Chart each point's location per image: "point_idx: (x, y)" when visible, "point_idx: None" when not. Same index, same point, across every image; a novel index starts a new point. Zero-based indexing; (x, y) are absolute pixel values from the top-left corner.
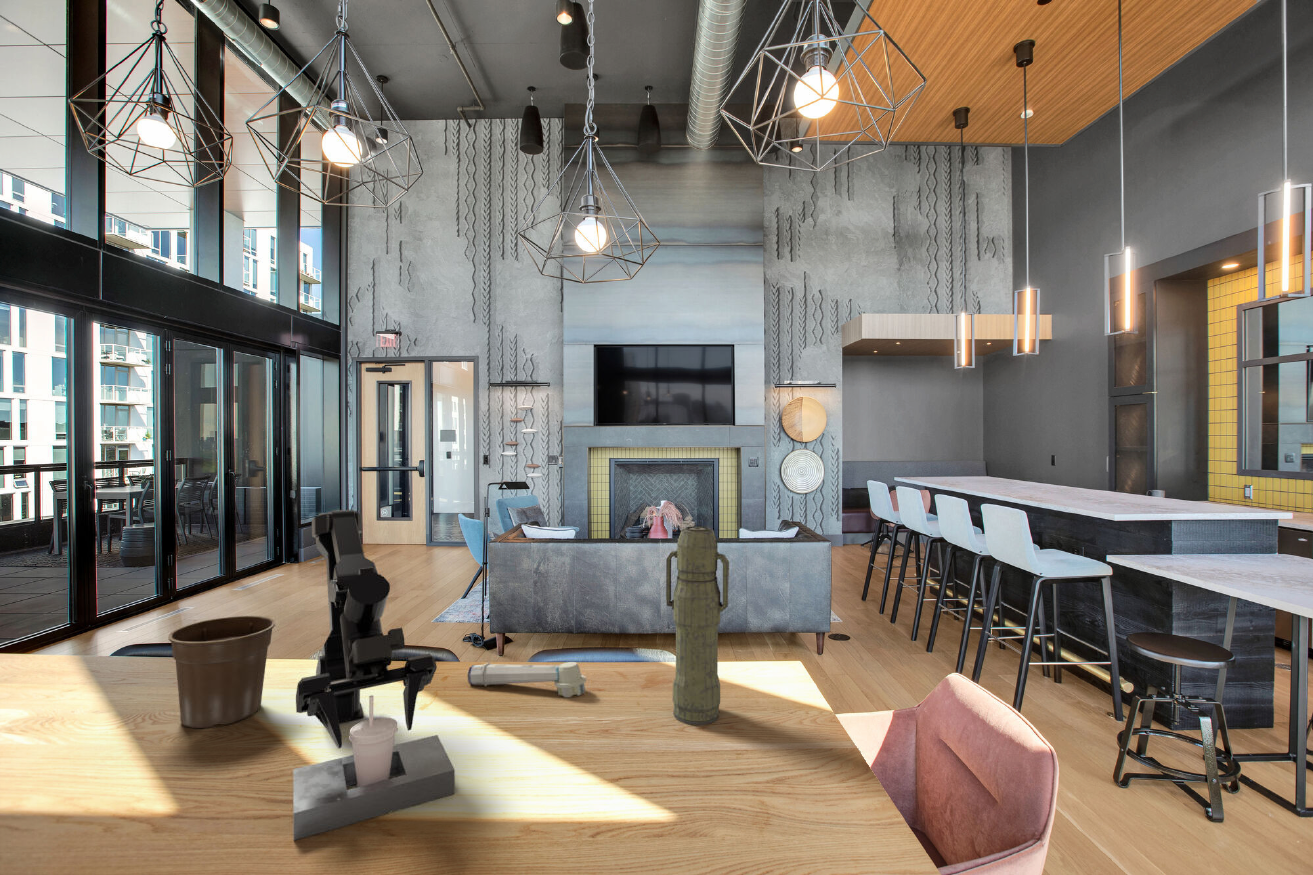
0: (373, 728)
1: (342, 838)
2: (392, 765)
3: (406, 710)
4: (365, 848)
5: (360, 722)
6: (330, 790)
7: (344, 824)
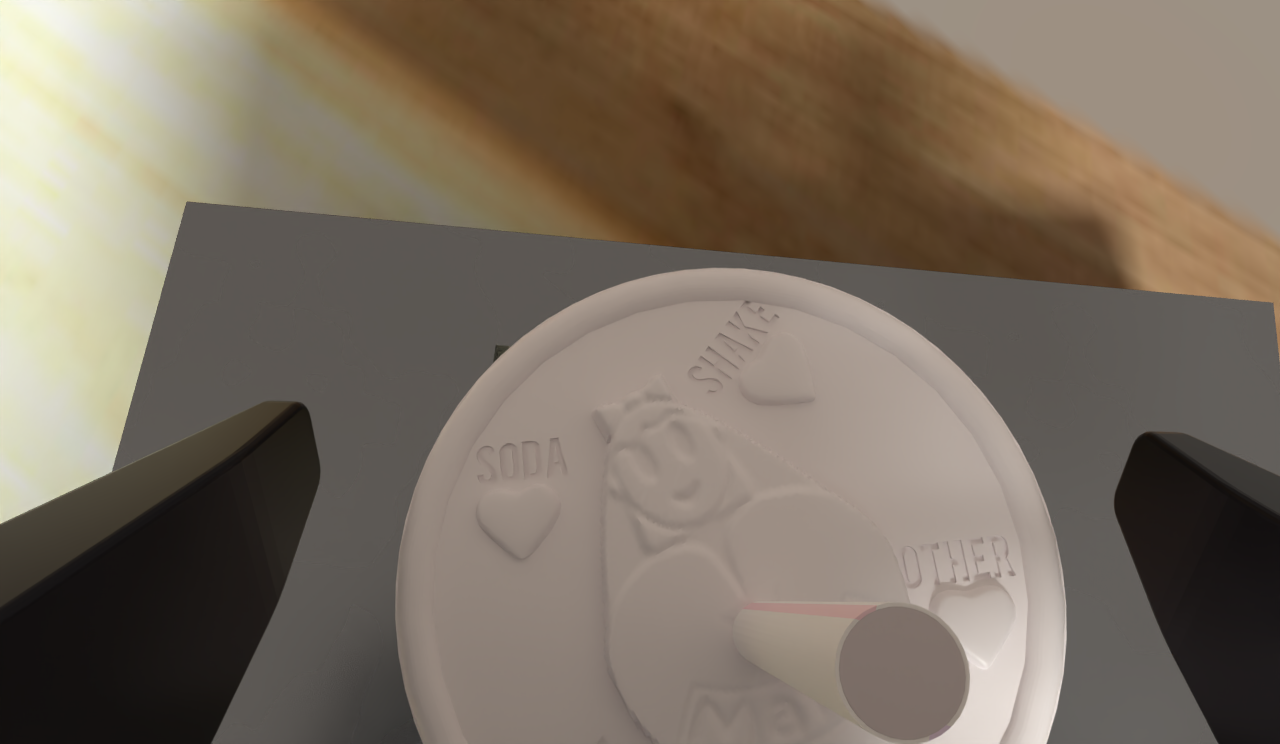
0: (751, 497)
1: (912, 227)
2: None
3: (163, 662)
4: (818, 84)
5: None
6: (1035, 458)
7: None
